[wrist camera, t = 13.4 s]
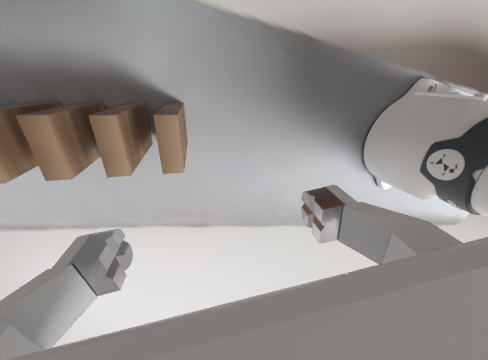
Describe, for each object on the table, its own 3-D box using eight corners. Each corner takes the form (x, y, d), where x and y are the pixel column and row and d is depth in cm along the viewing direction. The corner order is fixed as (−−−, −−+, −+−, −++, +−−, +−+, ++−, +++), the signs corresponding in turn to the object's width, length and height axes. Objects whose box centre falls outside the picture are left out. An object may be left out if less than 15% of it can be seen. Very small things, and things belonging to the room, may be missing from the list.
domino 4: (183, 103, 24) (177, 115, 16) (187, 142, 27) (183, 172, 18) (168, 102, 24) (153, 115, 15) (173, 143, 26) (163, 173, 17)
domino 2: (103, 102, 23) (46, 115, 14) (115, 144, 25) (71, 179, 16) (85, 102, 22) (15, 115, 13) (99, 145, 24) (45, 180, 16)
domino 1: (58, 101, 22) (-34, 115, 13) (74, 145, 24) (5, 183, 15) (39, 101, 21) (-70, 115, 13) (57, 146, 23) (-25, 185, 15)
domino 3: (145, 102, 23) (115, 115, 15) (152, 143, 26) (130, 175, 17) (128, 102, 23) (88, 115, 14) (137, 144, 25) (107, 177, 17)
